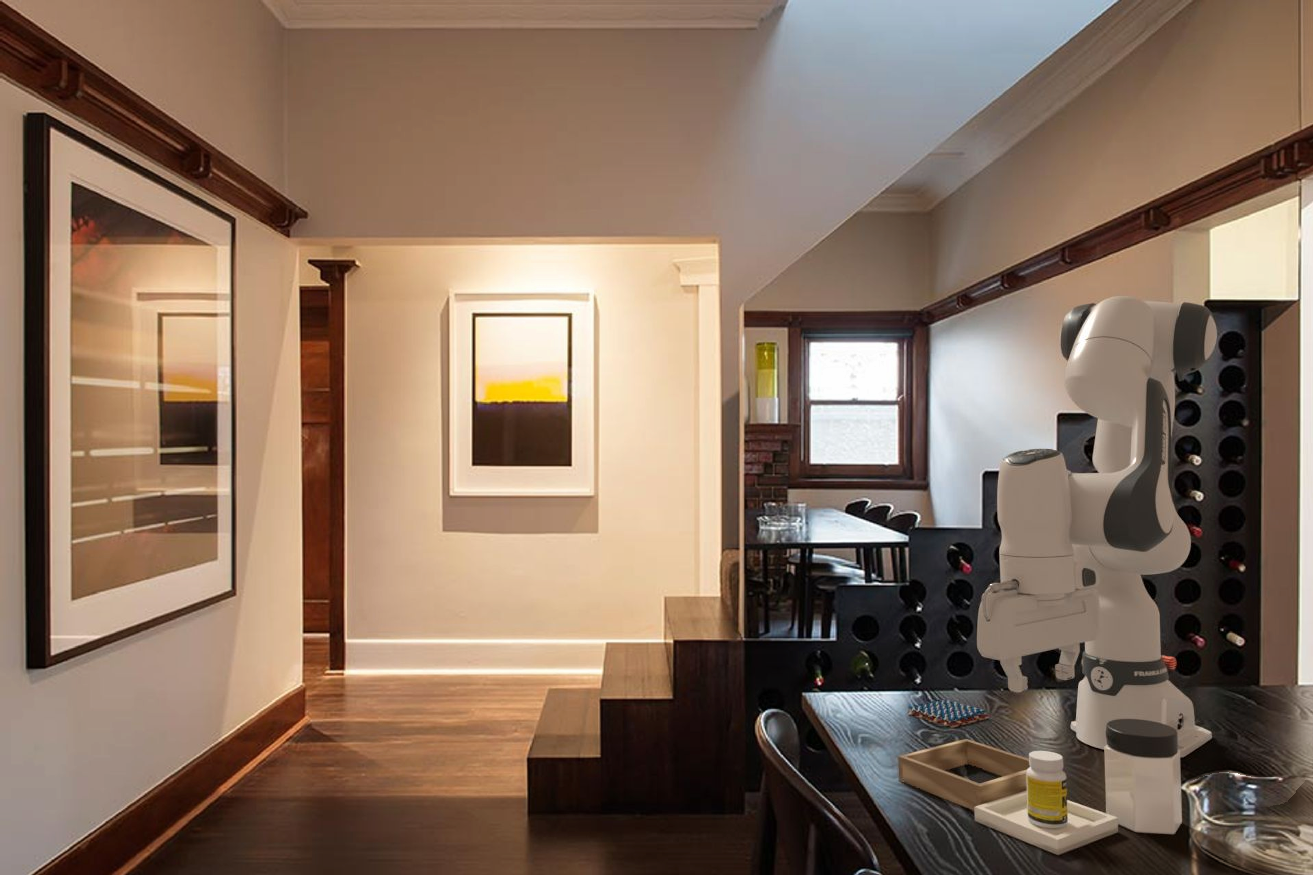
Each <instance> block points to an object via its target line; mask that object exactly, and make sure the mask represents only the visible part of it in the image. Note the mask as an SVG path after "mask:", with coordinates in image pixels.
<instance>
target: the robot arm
mask: <svg viewBox="0 0 1313 875" xmlns="http://www.w3.org/2000/svg"><path fill="white" fill-rule="evenodd" d="M1217 337H1218V330H1217V325H1216V322H1215V320H1214V316H1213V313H1212V312H1211V311H1210V309H1209V308H1208V307H1207V306H1205V305H1201V304H1198V303H1193V302H1185V301H1183V303H1177V302H1167V301H1156V300H1142V299H1139V298H1136V297H1134V296H1129V295H1128V296H1127V295H1117V296H1111V297H1108V298H1105V299H1103V300H1102V301H1099V302H1098V303H1097V304H1096V303H1095V302H1094V303H1093V302H1092V303H1091V302H1090V303H1086V304H1081V305H1077V306H1075V307H1073V308H1072V309H1070V310H1069V311H1068V312H1066V315H1065V316H1064V319H1063V322H1062V324H1061V327H1060V331H1059V346H1060V350H1061V354H1062V357H1063V358H1064V359H1065V360H1066V361H1067V364H1066V367H1065V372H1064V386H1065V390H1066V392H1067V394H1068V397H1069V398H1070V399H1071V401H1072V402H1073V403H1074V404H1075V405H1076V406H1077V407H1078V408H1079V409H1081V410H1082V411H1083V412H1085V413H1086V414H1088V415H1089V416H1092V417H1094V418H1097V421H1096V422H1097V423H1096V430H1095V438H1094V444H1093V452H1092V464H1093V466H1094V468H1095V470H1096V471H1097V472H1087V473H1086V472H1085V473H1083V472H1082V473H1080V472H1079V473H1078V472H1071V470H1069V469H1067V465H1066V460H1065V457H1064V454H1063V452H1061V451H1059V450H1057V449H1056V450H1055V449H1053V448H1032V449H1031V448H1030V449H1027V450H1018V451H1015V452H1012V453H1009V454H1008V455H1006V456H1004V457H1003V458H1002V460H1001V462H1000V466H999V471H998V478H997V494H996V496H997V498H996V502H997V504H996V506H997V507H996V508H997V522H998V525H999V527H1000V531H1001V541H1000V545H999V552H998V553H999V572H1000V573H999V574H1000V576H999V577H1000V582H993V583H991V584H989V585H988V586H987V589H986V590H985V591H984V593H983V594H982V595H981V601H980V604H979V608H978V612H977V613H978V614H977V615H978V616H977V630H976V646H977V650H978V653H980V655H981V657H983V658H987V659H991V660H997V661H999V662H1000V665H1001V667H1002V669H1003V672H1004V673H1005V675H1006V677H1007V687H1008V690H1010V692H1014V693H1022V692H1025V691H1027V690H1028V687H1029V686H1028V677H1027V676H1025V675H1023V674H1022V671H1021V667H1020V666H1021V665H1022V657H1025V656H1030V655H1034V654H1039V653H1042V652H1043V653H1044V652H1047V651H1051V650H1052V651H1053V650H1056V649H1058V650H1059V651H1061V652H1060V656H1059V661H1058V663H1057V664H1055V665H1054V669H1055V677H1056V678H1057V679H1058V680H1063V681H1067V680H1071V679H1075V674H1076V673H1075V665H1076V662H1077V660H1078V657H1079V656H1080V655H1079V654H1080V652H1081V650H1080V644H1083V643H1084V651H1083V652H1082V659H1081V666H1082V674H1083V675H1084V677H1083V679H1082V680H1080V681H1079V682H1078V688H1077V698H1076V699H1077V701H1076V713H1075V714H1076V716H1075V717H1076V718H1075V720H1074V721H1071V723H1070V729H1071V730H1072V731H1073V732H1075V733H1076V738H1077V739H1078V740H1079V741H1080V742H1082V743H1084V744H1086V745H1089V746H1091V747H1093V748H1098V749H1100V750H1104V748H1105V746H1106V745H1107V739H1106V724H1107V723H1108V722H1109V721H1112V720H1116V719H1140V720H1148V721H1154V722H1158V723H1162V724H1165V725H1168V726H1170V727H1172V728H1174V729H1175V730H1176V731H1177V734H1178V749H1179V750H1180V758H1184V757H1187V755H1189V754H1191V753H1192V752H1194V751H1195V750H1196V749H1198V748H1200V747H1202V746H1203V745H1204V744H1206V743H1207V742H1208V741H1211V739H1212V738H1213V736H1212V735H1213V734H1212V731H1210V730H1208V729H1206V728H1204V727H1202V726H1198V725H1196V721H1195V719H1196V718H1195V708H1194V704H1193V702H1192V700H1191V699H1190V698H1189V697H1188V696H1187V695H1186V694H1185V693H1183V692H1182V691H1181V690H1180V689H1178V687H1176V686H1175V685H1174V684H1173V683H1172V682H1171V681H1170V680H1169V679H1170V677H1169V672H1168V669H1169V670H1175V669H1176V667H1177V659H1176V658H1175V657H1174V656H1166V655H1164V654H1163V655H1162V654H1161V651H1162V650H1161V649H1162V647H1161V619H1160V617H1161V616H1160V611H1159V608H1158V605H1157V604H1156V602H1155V601H1154V600H1153V599H1152V597H1151V595H1150V594H1149V593H1148V591H1147V589H1146V587H1145V584H1144V580H1143V578H1142V575H1143V576H1145V575H1146V576H1147V575H1157V574H1158V575H1159V574H1164V573H1165V574H1166V573H1170V572H1173V571H1175V570H1177V569H1179V568H1180V567H1181V566H1182V565H1183V564H1184V563H1185V562H1186V560H1187V559H1188V556H1189V554H1190V551H1191V547H1192V545H1191V544H1192V540H1191V538H1192V537H1191V533H1190V531H1189V528H1188V526H1187V524H1186V523H1185V522H1184V520H1182V518H1181V517H1180V516H1179V514H1178V512H1177V510H1176V507H1175V504H1174V501H1173V492H1172V491H1173V490H1172V481H1171V478H1172V476H1171V474H1172V473H1171V472H1172V469H1171V468H1172V464H1171V463H1172V436H1173V428H1174V420H1175V419H1174V418H1175V410H1176V409H1175V408H1176V407H1175V406H1176V389H1175V388H1176V386H1175V378H1174V377H1175V376H1174V374H1175V373H1174V372H1176V377H1177V379H1178V382H1181V381H1184V380H1185V379H1186V377H1187V375H1188V374H1192V373H1194V372H1196V371H1198V370H1200V369H1201V368H1202V367H1203V366H1204V365H1206V363H1207V362H1208V361H1209V360H1210V356H1211V355H1212V353H1213V351H1214V349H1215V346H1216V344H1217V340H1218V338H1217Z"/></svg>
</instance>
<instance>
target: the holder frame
mask: <svg viewBox="0 0 1313 875" xmlns="http://www.w3.org/2000/svg"><path fill="white" fill-rule="evenodd" d="M897 761H898V781H899V782H902V781H904V782H906V783H905V784H907V783H908V784H907V785H909V784H911V785H910V786H912V787H914V786H915V788H917V789H919V788H920V789H919V790H921V791H924V792H927V793H929V794H932V795H934V796H936V797H939V798H941V799H944V800H947V801H948V802H952V803H954V804H957V805H958V806H961V807H964V808H967V809H970V810H971V809H972V811H973V812H975V809H974V807H976V806H979V805H982V804H985V803H988V802H992V801H995V800H998V799H1001V798H1004V797H1007V796H1011V795H1014V794H1017V793H1020V792H1023V791H1026V790H1027V782H1026V772H1027V769H1028V768H1029V767H1031V766H1030V765H1029V757H1024V756H1021V755H1019V754H1018V755H1017V754H1015V753H1011V752H1008V751H1005V750H1002V749H1000V748H997V747H993V746H990V745H987V744H983V743H980V742H977V741H974V740H971V739H968V738H965V739H960V740H955V741H953V742H949V743H945V744H940V745H937V746H932V747H929V748H925V749H921V750H918V751H914V752H909V753H906V754H902V755H899V756H898V759H897ZM965 764H966V765H968V764H970V765H969V766H971V765H972V766H971V767H974V766H976V767H975V768H977V767H978V769H980V768H982V769H981V770H983V771H986V772H989V773H992V774H995V775H997V776H1001V777H998V778H995V779H990V780H988V781H984V782H980V783H979V782H978V781H977V782H976V781H973V780H971V779H968V778H965V777H963V776H960V775H958V774H955V773H952V772H949V770H951V769H955V768H958V767H963V766H966V765H965ZM904 782H903V783H904Z"/></svg>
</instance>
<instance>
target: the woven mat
mask: <svg viewBox="0 0 1313 875" xmlns="http://www.w3.org/2000/svg"><path fill="white" fill-rule="evenodd" d="M908 709H910V710H908V712H907V714H908V715H909V716H911V717H912V716H913V717H914V716H915V717H916V718H919V719H921V720H922V719H924V720H925V721H928V722H930V723H931V722H933V723H935V724H939V725H943V726H945V727H949V728H956V727H960V726H965V725H968V724H971V723H976V722H979V721H983V720H987V719H989V714H987V710H985V709H982V708H978V707H974V706H973V705H971V706H970V705H968V704H962V703H960V702H958V703H957V702H956V701H953V700H951V701H950V700H949V699H944V700H943V699H941V698H940V699H937V701H936V700H932V701H931V702H929V701H927V702H925V704H924V703H920V704H919V705H918V704H915V705H914V707H913V706H908Z"/></svg>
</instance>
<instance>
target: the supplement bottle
mask: <svg viewBox="0 0 1313 875" xmlns="http://www.w3.org/2000/svg"><path fill="white" fill-rule="evenodd" d="M1028 759H1029V765H1030V766H1031V767H1029V768H1028V769H1027V772H1026V782H1027V818H1028V820H1029V821H1030V822H1031V823H1032V824H1034V825H1036V826H1039V827H1043V828H1051V829H1058V828H1063V827H1065V826H1066V825H1067V823H1068V813H1067V800H1068V789H1067V787H1068V786H1067V785H1068V784H1067V781H1068V779H1067V774H1066V773H1065V771H1063V770H1064V757H1063V756H1062V755H1061V754H1060V753H1057V752H1053V751H1048V750H1033V751H1030V752H1029V754H1028Z"/></svg>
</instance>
